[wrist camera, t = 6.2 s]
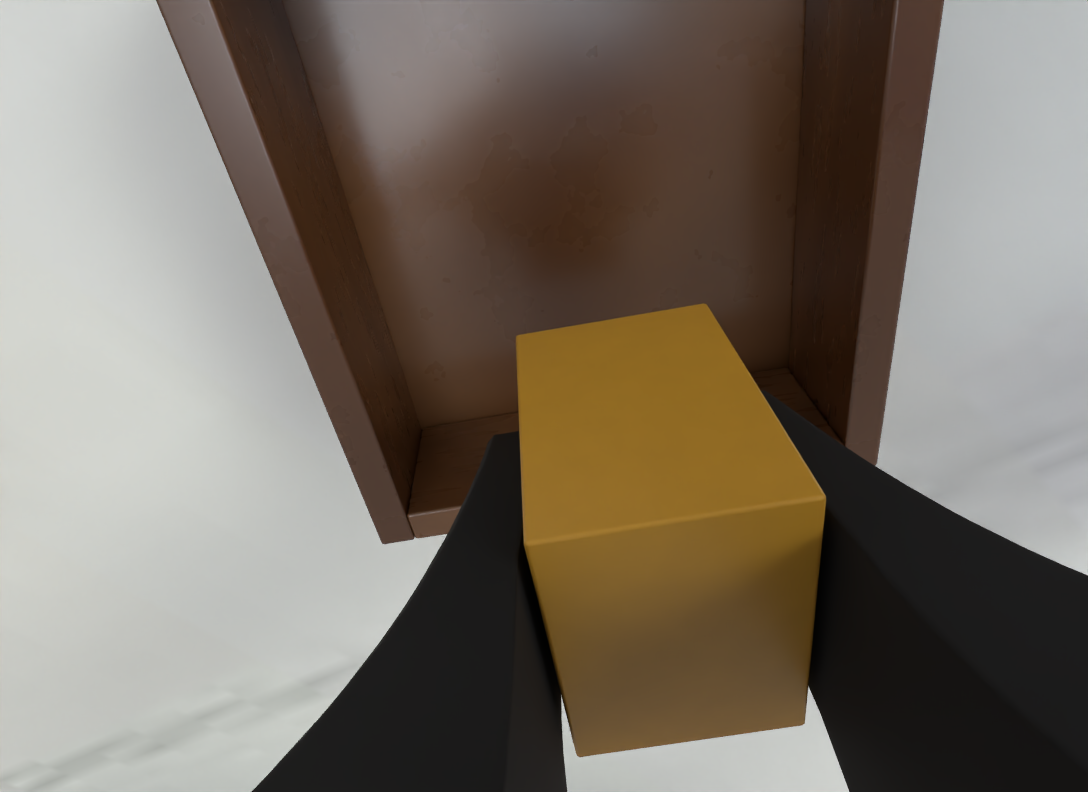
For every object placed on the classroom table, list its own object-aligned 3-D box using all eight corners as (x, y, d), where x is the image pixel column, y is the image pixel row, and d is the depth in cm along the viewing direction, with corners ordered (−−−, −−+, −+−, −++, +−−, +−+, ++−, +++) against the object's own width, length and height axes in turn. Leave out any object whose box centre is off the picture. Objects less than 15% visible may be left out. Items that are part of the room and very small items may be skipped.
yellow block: (706, 301, 10) (827, 496, 6) (712, 495, 12) (805, 726, 9) (514, 334, 10) (522, 544, 6) (553, 520, 12) (576, 759, 9)
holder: (846, -226, 12) (992, -310, 8) (807, 374, 18) (877, 466, 15) (215, -98, 12) (102, -126, 9) (403, 441, 19) (381, 545, 16)
